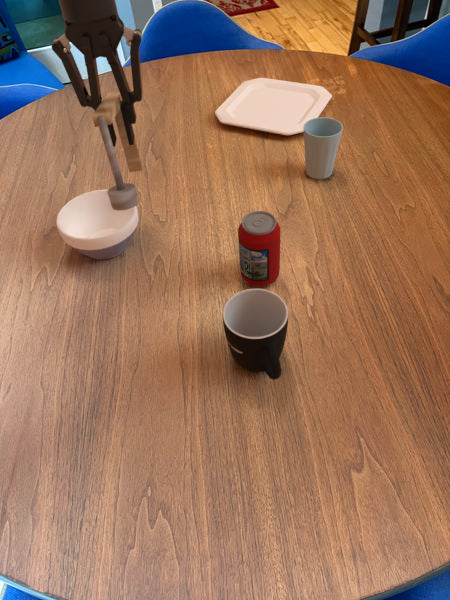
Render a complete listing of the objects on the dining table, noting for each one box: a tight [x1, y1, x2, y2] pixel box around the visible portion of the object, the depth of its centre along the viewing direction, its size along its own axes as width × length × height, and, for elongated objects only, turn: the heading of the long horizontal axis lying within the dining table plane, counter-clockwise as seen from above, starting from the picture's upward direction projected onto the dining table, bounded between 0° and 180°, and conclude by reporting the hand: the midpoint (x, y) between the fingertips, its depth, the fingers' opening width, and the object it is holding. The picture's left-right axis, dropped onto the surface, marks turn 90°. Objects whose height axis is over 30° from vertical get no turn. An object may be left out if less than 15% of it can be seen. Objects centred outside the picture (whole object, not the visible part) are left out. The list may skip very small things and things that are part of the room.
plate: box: [214, 77, 333, 136], centre depth 120 cm, size 25×25×2 cm
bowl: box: [55, 189, 139, 261], centre depth 89 cm, size 14×14×8 cm
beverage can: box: [237, 210, 281, 287], centre depth 79 cm, size 7×7×12 cm
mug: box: [222, 288, 289, 380], centre depth 68 cm, size 12×9×10 cm
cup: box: [303, 116, 344, 180], centre depth 98 cm, size 8×8×10 cm
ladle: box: [91, 89, 144, 210], centre depth 77 cm, size 18×4×14 cm, turn 4°
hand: (122, 141), depth 82 cm, fingers closed on ladle, 2 cm apart
